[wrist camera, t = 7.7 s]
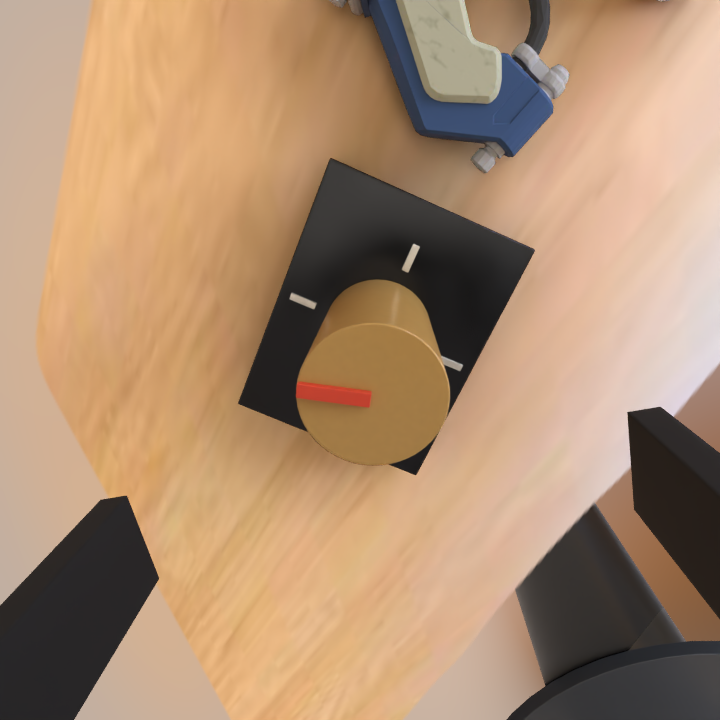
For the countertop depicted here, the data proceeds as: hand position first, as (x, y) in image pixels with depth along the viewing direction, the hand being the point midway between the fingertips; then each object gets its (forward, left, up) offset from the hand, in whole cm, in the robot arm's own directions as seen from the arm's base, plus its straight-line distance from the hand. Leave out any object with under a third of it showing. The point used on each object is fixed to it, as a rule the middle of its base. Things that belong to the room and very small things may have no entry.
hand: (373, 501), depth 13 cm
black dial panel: (0, 0, -18) cm, 18 cm away
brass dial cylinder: (0, 0, -15) cm, 15 cm away
